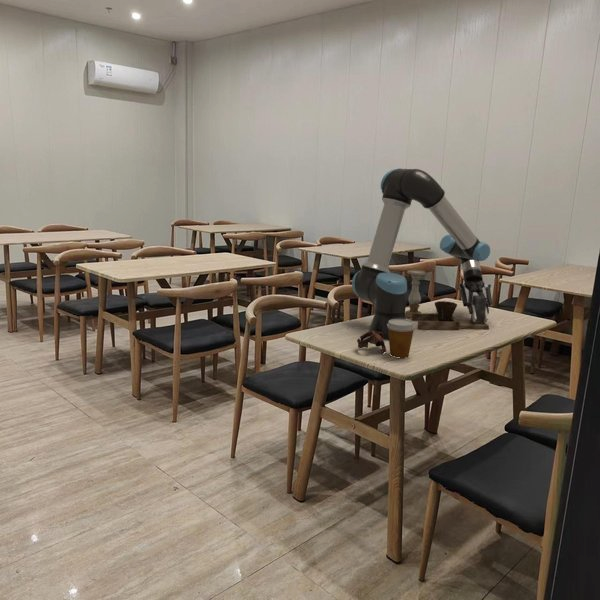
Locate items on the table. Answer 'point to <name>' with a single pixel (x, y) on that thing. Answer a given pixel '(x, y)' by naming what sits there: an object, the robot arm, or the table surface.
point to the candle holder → (414, 293)
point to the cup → (445, 310)
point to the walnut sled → (432, 318)
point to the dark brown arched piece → (372, 340)
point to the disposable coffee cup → (400, 336)
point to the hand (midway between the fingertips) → (480, 320)
